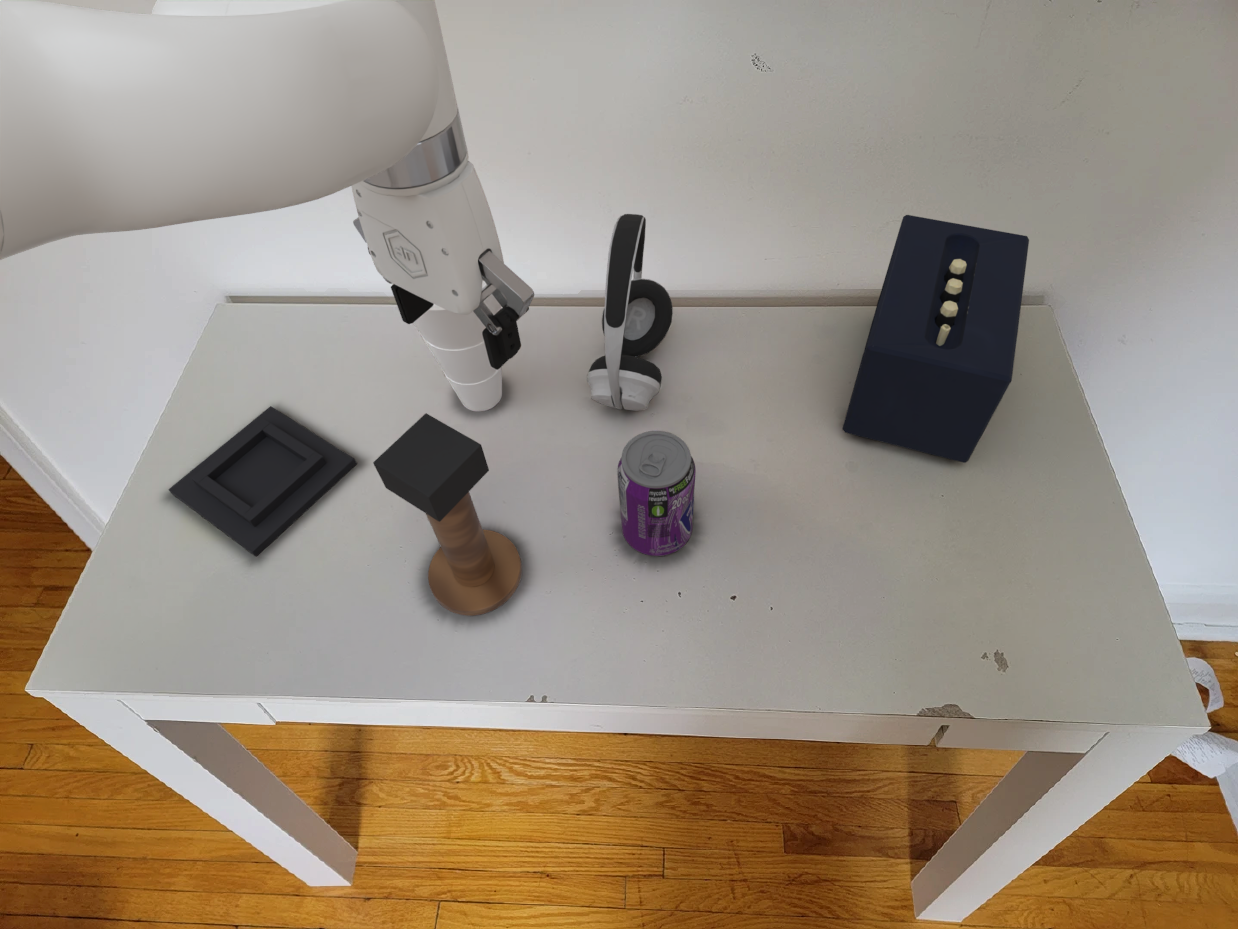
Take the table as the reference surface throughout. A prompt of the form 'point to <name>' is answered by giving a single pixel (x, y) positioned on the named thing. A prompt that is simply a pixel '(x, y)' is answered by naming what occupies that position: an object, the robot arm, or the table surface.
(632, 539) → the beverage can
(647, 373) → the headphones
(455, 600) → the stand
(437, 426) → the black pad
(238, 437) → the base pad
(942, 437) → the speaker
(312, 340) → the table surface
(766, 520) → the table surface
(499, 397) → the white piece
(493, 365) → the robot arm
